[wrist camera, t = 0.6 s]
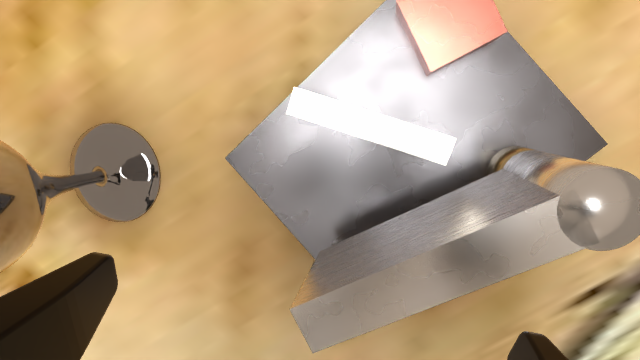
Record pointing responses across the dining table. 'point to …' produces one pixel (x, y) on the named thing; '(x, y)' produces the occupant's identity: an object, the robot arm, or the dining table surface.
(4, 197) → the wine glass
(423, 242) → the swing bar
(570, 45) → the dining table surface
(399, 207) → the base
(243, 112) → the dining table surface
